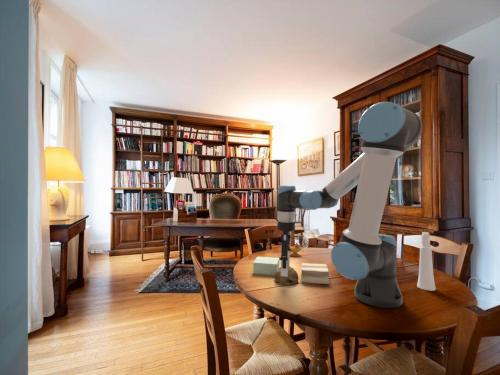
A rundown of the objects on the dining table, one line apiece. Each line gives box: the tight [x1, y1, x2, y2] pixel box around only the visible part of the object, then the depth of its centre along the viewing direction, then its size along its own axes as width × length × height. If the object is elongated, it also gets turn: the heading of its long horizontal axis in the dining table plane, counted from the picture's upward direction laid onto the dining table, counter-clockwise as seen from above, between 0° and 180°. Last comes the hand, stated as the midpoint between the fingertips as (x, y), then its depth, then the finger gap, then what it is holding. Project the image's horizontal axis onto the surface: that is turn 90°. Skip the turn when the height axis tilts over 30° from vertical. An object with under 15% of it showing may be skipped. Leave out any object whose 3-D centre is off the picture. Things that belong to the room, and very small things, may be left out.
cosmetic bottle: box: [416, 231, 437, 292], centre depth 97 cm, size 6×6×22 cm
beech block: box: [301, 262, 330, 285], centre depth 107 cm, size 11×11×5 cm
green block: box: [252, 256, 280, 276], centre depth 117 cm, size 11×11×5 cm
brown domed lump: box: [273, 265, 299, 286], centre depth 104 cm, size 10×10×8 cm
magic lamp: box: [279, 237, 309, 257], centre depth 148 cm, size 7×18×11 cm, turn 71°
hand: (285, 270), depth 105 cm, fingers open, 13 cm apart
